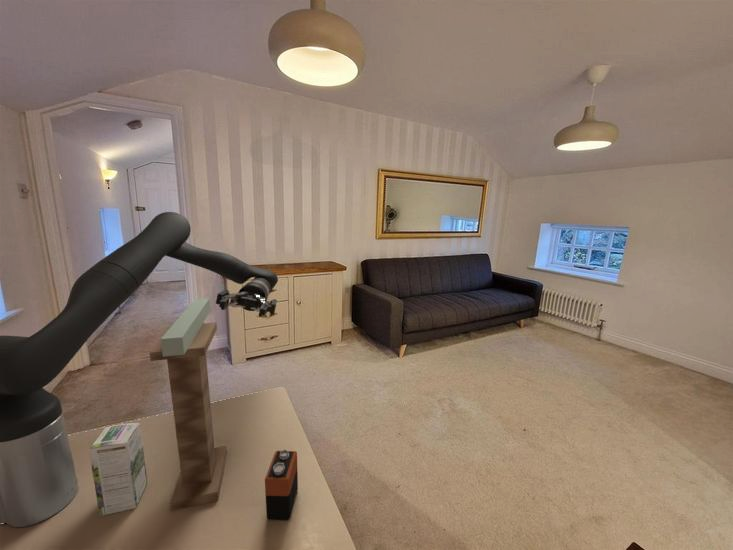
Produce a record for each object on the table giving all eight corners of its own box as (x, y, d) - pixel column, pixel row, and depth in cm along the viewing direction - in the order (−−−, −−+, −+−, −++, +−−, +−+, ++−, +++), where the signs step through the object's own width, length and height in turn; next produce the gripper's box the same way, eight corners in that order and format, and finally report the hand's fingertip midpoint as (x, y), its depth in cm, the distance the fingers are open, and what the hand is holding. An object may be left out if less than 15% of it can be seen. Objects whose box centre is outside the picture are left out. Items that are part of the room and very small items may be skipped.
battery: (265, 521, 55) (263, 475, 52) (277, 487, 61) (275, 445, 59) (289, 522, 55) (288, 476, 52) (298, 488, 61) (297, 446, 59)
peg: (162, 356, 48) (160, 339, 47) (196, 311, 68) (194, 299, 68) (184, 354, 49) (182, 337, 48) (210, 310, 69) (209, 298, 69)
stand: (171, 511, 56) (149, 352, 49) (188, 460, 67) (172, 325, 60) (218, 500, 58) (204, 347, 51) (227, 452, 69) (216, 322, 63)
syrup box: (114, 489, 60) (103, 426, 57) (149, 482, 61) (140, 420, 58) (99, 517, 54) (85, 449, 51) (137, 508, 56) (127, 442, 53)
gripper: (230, 276, 85) (213, 287, 69) (282, 287, 88) (276, 299, 72) (225, 302, 85) (207, 318, 70) (276, 311, 88) (269, 329, 73)
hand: (242, 309), depth 71 cm, fingers open, 8 cm apart
